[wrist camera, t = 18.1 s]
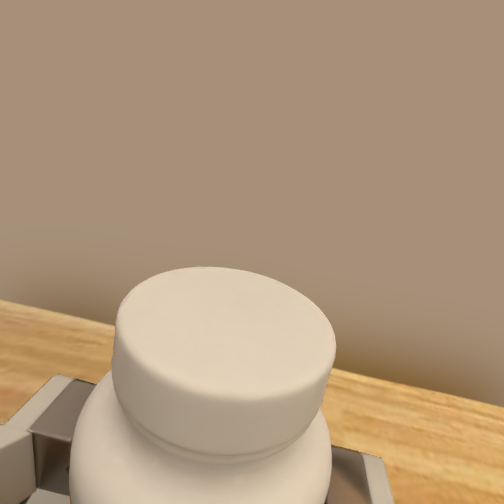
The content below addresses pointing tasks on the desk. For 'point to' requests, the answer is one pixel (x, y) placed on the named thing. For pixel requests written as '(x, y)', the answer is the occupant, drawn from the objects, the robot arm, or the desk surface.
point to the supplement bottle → (209, 396)
